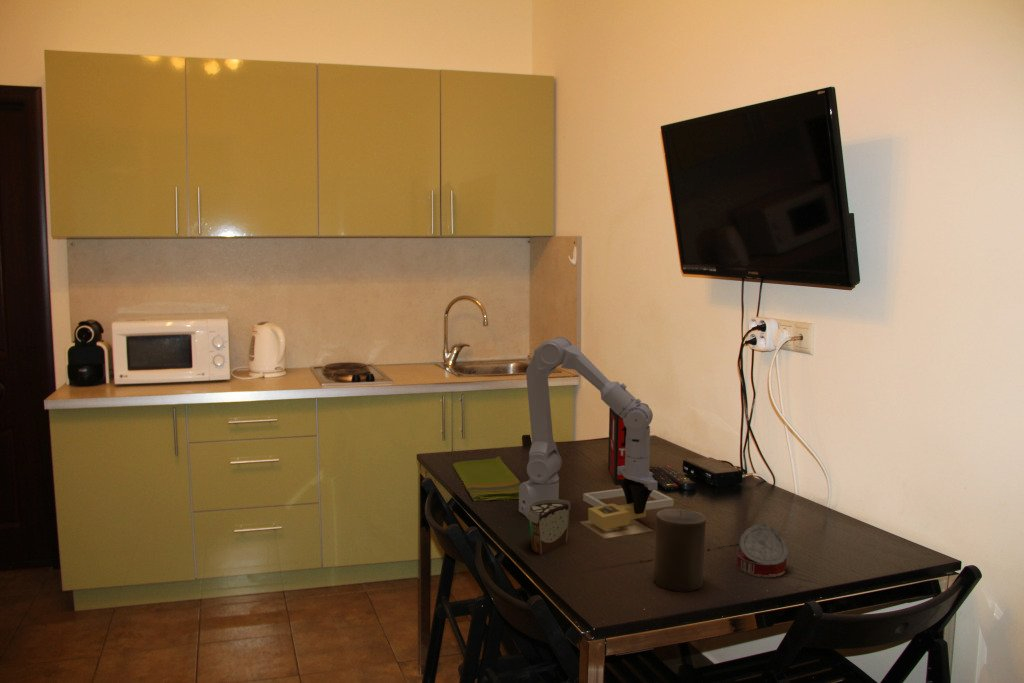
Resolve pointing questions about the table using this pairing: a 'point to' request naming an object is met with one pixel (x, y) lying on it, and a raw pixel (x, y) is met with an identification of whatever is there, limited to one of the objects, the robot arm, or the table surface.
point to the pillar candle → (679, 549)
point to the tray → (594, 496)
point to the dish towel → (488, 479)
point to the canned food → (762, 550)
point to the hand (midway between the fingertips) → (635, 511)
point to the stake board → (617, 531)
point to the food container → (548, 523)
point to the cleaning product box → (616, 445)
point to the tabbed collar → (613, 515)
